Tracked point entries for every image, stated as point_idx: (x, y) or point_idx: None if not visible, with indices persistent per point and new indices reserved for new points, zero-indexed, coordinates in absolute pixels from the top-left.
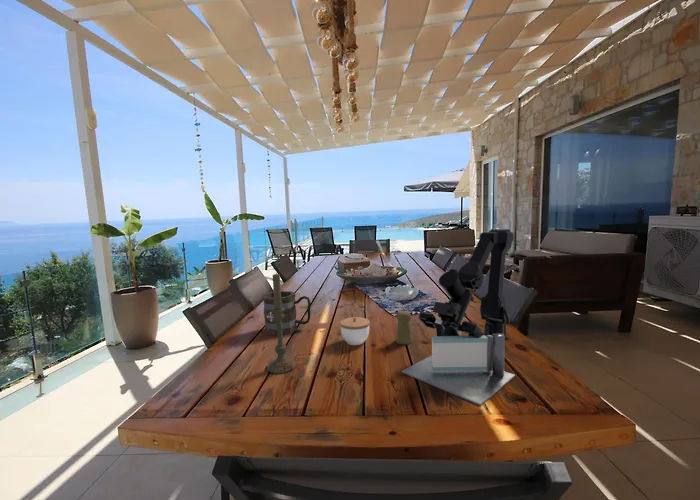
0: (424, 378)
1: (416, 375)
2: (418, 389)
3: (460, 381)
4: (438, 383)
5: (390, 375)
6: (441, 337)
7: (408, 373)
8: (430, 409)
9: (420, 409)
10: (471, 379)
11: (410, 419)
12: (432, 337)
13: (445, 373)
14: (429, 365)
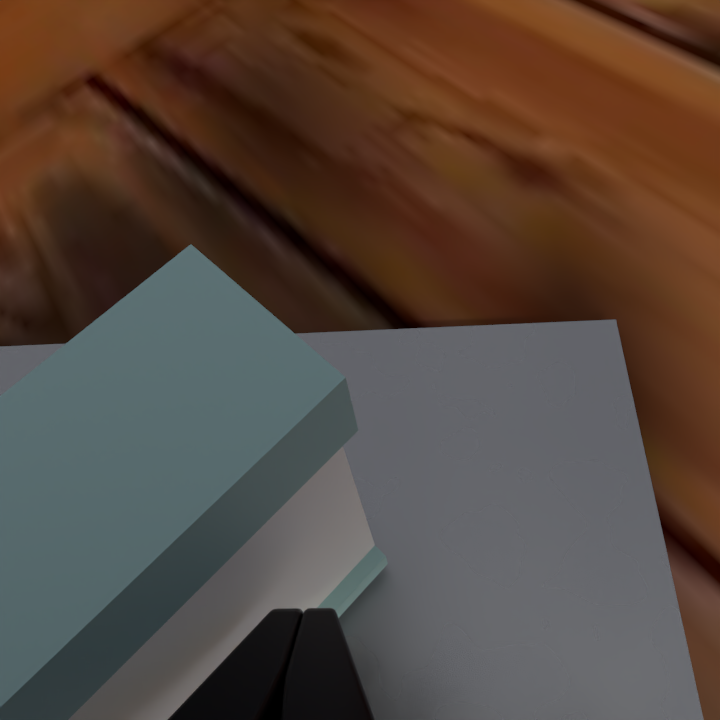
0: (339, 360)
1: (439, 353)
2: (289, 226)
3: None
4: None
5: (633, 223)
6: (4, 533)
7: (526, 327)
8: (91, 120)
9: (144, 84)
10: None
11: (144, 5)
12: (263, 317)
13: None
14: (509, 680)
